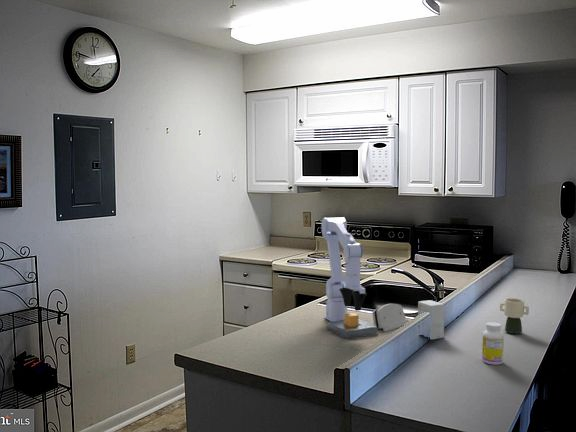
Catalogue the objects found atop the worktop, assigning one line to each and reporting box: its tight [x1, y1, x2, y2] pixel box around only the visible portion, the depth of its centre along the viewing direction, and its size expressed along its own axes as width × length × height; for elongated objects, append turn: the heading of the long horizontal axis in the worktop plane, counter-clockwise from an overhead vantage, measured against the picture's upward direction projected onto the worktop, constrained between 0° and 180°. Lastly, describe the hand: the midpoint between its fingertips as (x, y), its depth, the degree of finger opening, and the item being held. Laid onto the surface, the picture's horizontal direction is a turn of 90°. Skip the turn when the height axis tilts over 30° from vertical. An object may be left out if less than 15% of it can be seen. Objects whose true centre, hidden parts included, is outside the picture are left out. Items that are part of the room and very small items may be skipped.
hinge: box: [371, 303, 410, 332], centre depth 227 cm, size 17×5×10 cm, turn 131°
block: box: [344, 312, 360, 327], centre depth 218 cm, size 4×4×7 cm
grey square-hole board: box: [327, 318, 378, 340], centre depth 218 cm, size 14×14×3 cm
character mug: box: [499, 297, 530, 334], centre depth 216 cm, size 11×7×13 cm, turn 52°
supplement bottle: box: [481, 321, 505, 366], centre depth 183 cm, size 7×7×13 cm
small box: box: [417, 299, 445, 340], centre depth 212 cm, size 8×6×13 cm
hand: (352, 308), depth 218 cm, fingers open, 7 cm apart
